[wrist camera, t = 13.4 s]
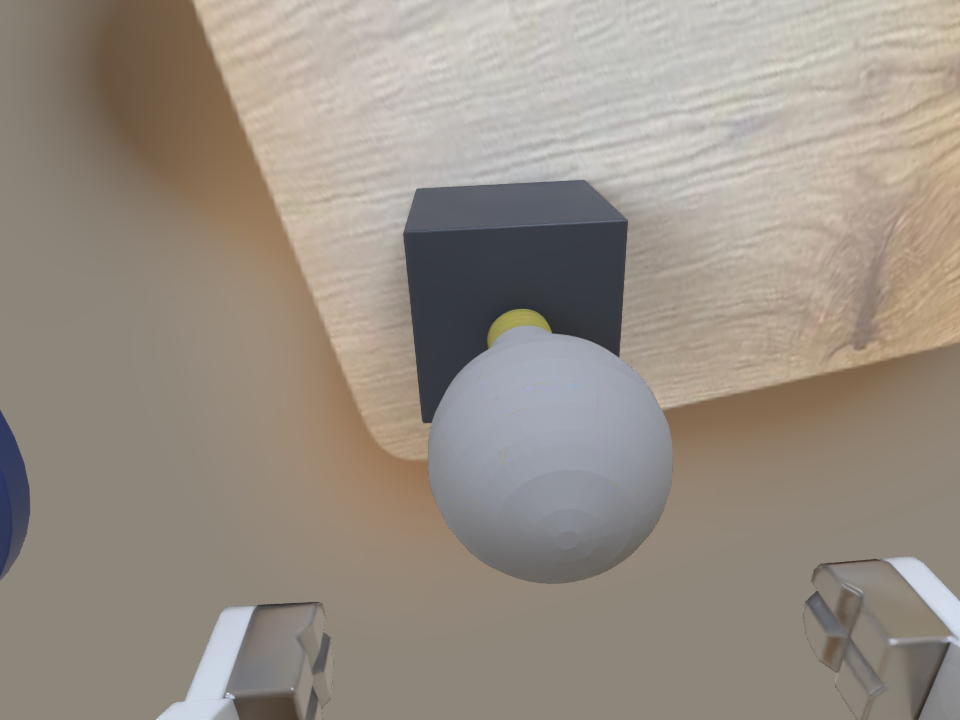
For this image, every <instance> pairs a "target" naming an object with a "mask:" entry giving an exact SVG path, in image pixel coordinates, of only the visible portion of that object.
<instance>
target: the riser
mask: <svg viewBox="0 0 960 720" xmlns="http://www.w3.org/2000/svg"><path fill="white" fill-rule="evenodd" d="M627 226H628V221H627V219H626V218H625V217H624V216H623V215H622V214H621V213H619V212H618V211H617V210H616V209H615V208H614V207H613V206H612V205H611V204H610V203H609V202H608V201H607V200H605V199H604V198H603V197H602V196H601V195H600V194H599V193H598V192H597V191H596V190H595V189H594V188H593V187H591V186H590V185H589V184H588V183H587V182H586V181H585V180H575V181H556V182H537V183H518V184H499V185H479V186H460V187H441V188H422V189H416V192H415V196H414V199H413V203H412V206H411V209H410V213H409V216H408V220H407V223H406V226H405V230H404V233H403V235H404V245H405V255H406V264H407V274H408V284H409V294H410V304H411V314H412V324H413V334H414V344H415V354H416V364H417V374H418V384H419V393H420V403H421V413H422V421H423V423H432V420H433V418H434V415H435V412H436V410H437V408H438V406H439V404H440V402H441V400H442V398H443V396H444V394H445V392H446V390H447V389H448V387H449V385H450V384H451V382H452V381H453V379H454V378H455V377H456V376H457V374H458V373H459V372H460V371H461V370H462V369H463V368H464V367H465V366H466V365H467V364H468V363H469V362H471V361H472V360H473V359H474V358H476V357H477V356H479V355H480V354H481V353H483V352H485V351H486V350H488V344H487V338H488V333H489V330H490V328H491V326H492V324H493V323H494V322H495V321H496V319H497V318H499V317H500V316H501V315H503V314H505V313H507V312H509V311H512V310H516V309H528V310H532V311H535V312H537V313H539V314H540V315H541V316H543V317H544V319H545V320H546V321H547V323H548V325H549V326H550V329H551V332H552V334H561V335H569V336H574V337H578V338H582V339H585V340H588V341H591V342H593V343H595V344H598V345H600V346H601V347H603V348H605V349H607V350H608V351H610V352H611V353H613V354H614V355H616V356H617V357H618V358H619V354H620V338H621V322H622V306H623V290H624V274H625V258H626V242H627Z"/></svg>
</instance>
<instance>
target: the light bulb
mask: <svg viewBox="0 0 960 720" xmlns="http://www.w3.org/2000/svg"><path fill="white" fill-rule="evenodd" d="M487 344H488V350H486V351H485V352H483V353H481V354H480V355H479V356H477V357H476V358H474V359H473V360H472V361H471V362H469V363H468V364H467V365H466V366H465V367H464V368H463V369H462V370H461V371H460V372H459V373H458V374H457V376H456V377H455V378H454V379H453V381H452V382H451V384H450V385H449V387H448V389H447V390H446V392H445V394H444V396H443V398H442V400H441V402H440V404H439V406H438V408H437V410H436V412H435V415H434V418H433V420H432V424H431V428H430V433H429V442H428V474H429V482H430V486H431V490H432V493H433V496H434V498H435V501H436V503H437V505H438V507H439V509H440V511H441V513H442V515H443V517H444V519H445V521H446V523H447V525H448V526H449V528H450V529H451V531H452V532H453V533H454V535H455V536H456V537H457V538H458V539H459V540H460V541H461V543H462V544H463V545H464V546H465V547H466V548H467V549H468V550H469V551H470V552H471V553H472V554H473V555H474V556H476V557H477V558H478V559H479V560H480V561H482V562H484V563H485V564H487V565H488V566H490V567H492V568H494V569H496V570H499V571H501V572H503V573H505V574H507V575H510V576H513V577H515V578H519V579H521V580H525V581H530V582H536V583H547V584H555V583H556V584H558V583H569V582H575V581H580V580H584V579H587V578H591V577H593V576H596V575H599V574H601V573H603V572H606V571H608V570H610V569H611V568H613V567H615V566H617V565H618V564H620V563H621V562H622V561H624V560H625V559H626V558H627V557H629V556H630V555H631V554H632V553H633V552H634V551H635V550H636V549H637V548H638V547H639V546H640V545H641V544H642V543H643V542H644V540H645V539H646V538H647V537H648V536H649V535H650V533H651V532H652V531H653V529H654V528H655V526H656V525H657V523H658V521H659V519H660V517H661V515H662V513H663V510H664V507H665V504H666V501H667V498H668V494H669V491H670V486H671V481H672V472H673V467H672V466H673V464H672V462H673V461H672V460H673V455H672V439H671V434H670V430H669V426H668V423H667V421H666V418H665V416H664V414H663V412H662V410H661V408H660V406H659V404H658V402H657V400H656V398H655V397H654V395H653V393H652V391H651V389H650V388H649V386H648V385H647V384H646V382H645V381H644V380H643V378H642V377H641V376H640V375H639V374H638V373H637V372H636V371H635V370H634V369H633V368H632V367H630V366H629V365H628V364H627V363H625V362H624V361H623V360H621V359H620V358H618V357H617V356H616V355H614V354H613V353H611V352H610V351H608V350H607V349H605V348H603V347H601V346H600V345H598V344H595V343H593V342H591V341H588V340H585V339H582V338H578V337H574V336H569V335H561V334H552V332H551V329H550V326H549V325H548V323H547V321H546V320H545V319H544V317H543V316H541V315H540V314H539V313H537V312H535V311H532V310H528V309H516V310H512V311H509V312H507V313H505V314H503V315H501V316H500V317H499V318H497V319H496V321H495V322H494V323H493V324H492V326H491V328H490V330H489V333H488V338H487Z"/></svg>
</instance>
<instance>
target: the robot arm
mask: <svg viewBox="0 0 960 720" xmlns="http://www.w3.org/2000/svg"><path fill="white" fill-rule="evenodd" d="M811 582H812V584H813V585H814V586H815V588H816V589H817V591H816V592H815V593H814V594H813V595H812V596H811V597H810V598H809V599H808V600H807V601H806V602H805V607H804V612H803V622H804V628H805V634H806V637H807V639H808V641H809V644H810V646H811V648H812V650H813V652H814V653H815V655H816V657H817V658H818V660H819V661H820V662H821V663H823V664H825V665H826V666H827V667H829V668H830V669H832V670H833V671H835V672H836V673H837V675H836V683H835V687H836V688H837V690H838V692H839V693H840V695H841V696H842V698H843V699H844V701H845V702H846V704H847V706H848V707H849V709H850V710H851V712H852V714H853V715H854V717H855V718H856V720H960V601H959V600H958V599H957V598H956V597H955V596H954V595H953V594H952V593H951V592H950V591H949V590H948V589H947V588H946V587H945V585H943V583H942V582H941V581H940V580H939V579H938V578H937V577H936V576H935V575H934V574H933V573H932V572H931V571H930V570H929V569H928V568H927V567H926V566H925V565H924V564H923V563H922V562H921V561H919V560H918V559H915V558H914V557H911V556H910V557H898V558H886V559H879V560H877V559H871V560H860V561H848V562H837V563H826V564H820V565H818V566H817V568H816V569H815V570H814V572H813V576H812V579H811ZM325 621H326V615H325V611H324V607H323V604H322V603H320V602H308V603H289V604H267V605H257V606H237V607H226V608H225V610H224V611H223V612H222V614H220V616H219V617H218V620H217V622H216V625H215V627H214V630H213V632H212V635H211V637H210V640H209V642H208V644H207V647H206V649H205V652H204V654H203V657H202V659H201V662H200V664H199V667H198V669H197V671H196V674H195V676H194V679H193V681H192V683H191V686H190V689H189V691H188V693H187V696H186V698H185V701H184V702H174V703H173V704H172V705H171V706H170V707H169V708H168V709H167V710H166V711H164V712H163V713H162V714H161V715H160V716H159V717H158V718H157V719H156V720H323V717H322V712H321V710H322V708H323V707H324V706H325V705H326V704H327V702H328V701H329V700H330V696H331V690H332V684H333V667H334V659H333V647H332V643H331V638H330V637H329V636H328V635H327V634H325V633H324V632H323V631H324V627H325Z"/></svg>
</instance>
